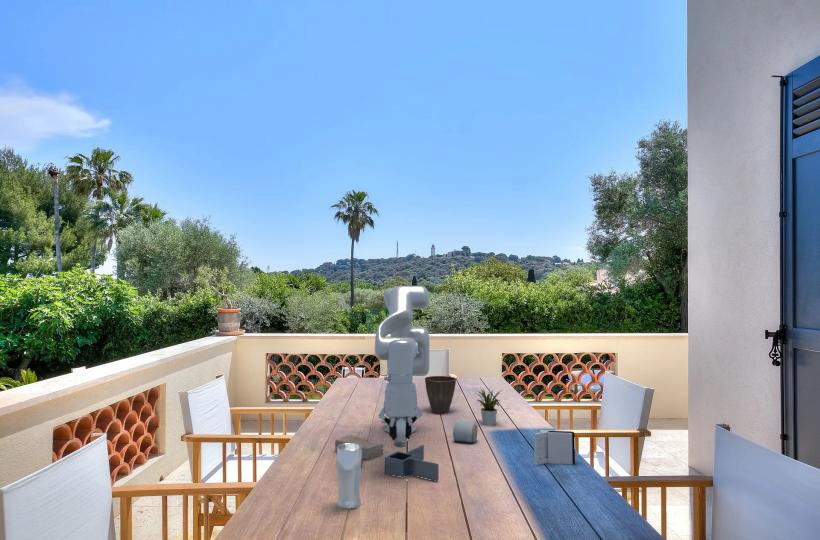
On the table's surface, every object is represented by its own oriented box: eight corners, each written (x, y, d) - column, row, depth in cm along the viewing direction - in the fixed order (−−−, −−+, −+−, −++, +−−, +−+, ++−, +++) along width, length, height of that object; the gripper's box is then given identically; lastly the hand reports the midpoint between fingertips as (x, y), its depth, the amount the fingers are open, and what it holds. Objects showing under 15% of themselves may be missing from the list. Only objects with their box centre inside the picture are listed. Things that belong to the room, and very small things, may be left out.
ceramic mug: (473, 445, 182) (473, 424, 182) (452, 443, 184) (452, 422, 185) (480, 438, 191) (480, 418, 192) (459, 436, 194) (459, 416, 195)
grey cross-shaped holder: (384, 473, 152) (384, 457, 153) (413, 458, 167) (414, 443, 167) (431, 485, 143) (431, 467, 143) (458, 468, 157) (458, 452, 158)
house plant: (465, 426, 208) (465, 387, 209) (473, 418, 221) (473, 382, 222) (499, 429, 203) (498, 389, 204) (505, 422, 216) (505, 384, 217)
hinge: (535, 465, 160) (534, 434, 161) (530, 460, 166) (529, 429, 166) (577, 464, 161) (576, 433, 162) (570, 459, 166) (570, 429, 167)
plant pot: (461, 411, 236) (461, 377, 237) (446, 417, 223) (446, 382, 224) (434, 407, 244) (434, 374, 245) (418, 413, 231) (418, 379, 232)
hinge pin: (389, 446, 153) (389, 410, 153) (398, 442, 157) (398, 407, 158) (402, 448, 150) (402, 412, 151) (411, 444, 154) (411, 409, 155)
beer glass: (336, 499, 133) (337, 443, 134) (362, 498, 133) (362, 442, 134) (334, 510, 126) (335, 451, 127) (362, 509, 126) (362, 450, 127)
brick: (384, 455, 171) (384, 441, 171) (368, 461, 164) (368, 447, 164) (350, 446, 181) (350, 433, 181) (333, 452, 174) (334, 439, 175)
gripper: (375, 381, 149) (375, 443, 148) (429, 380, 153) (429, 440, 152) (372, 378, 157) (372, 436, 156) (423, 376, 160) (423, 434, 159)
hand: (400, 437), depth 154 cm, fingers closed on hinge pin, 4 cm apart
